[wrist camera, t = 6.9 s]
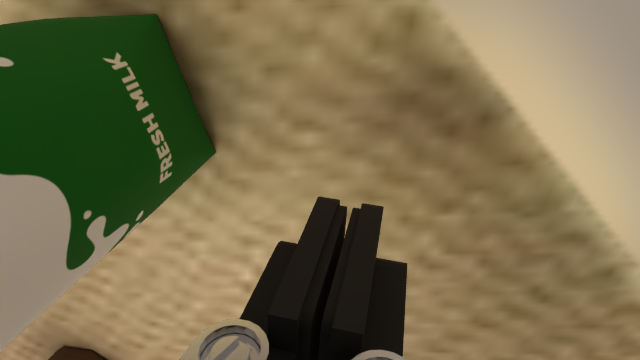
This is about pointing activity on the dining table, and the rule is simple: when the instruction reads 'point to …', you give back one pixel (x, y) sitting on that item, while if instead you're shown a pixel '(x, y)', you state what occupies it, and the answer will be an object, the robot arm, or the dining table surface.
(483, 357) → the dining table surface
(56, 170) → the soya milk
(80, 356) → the beer bottle
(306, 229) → the robot arm
